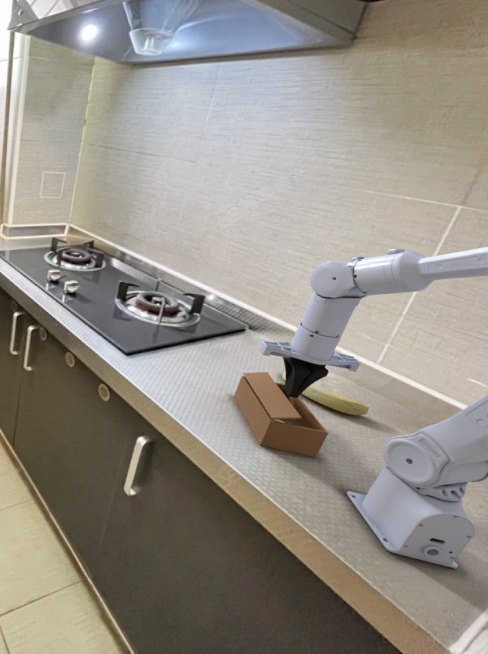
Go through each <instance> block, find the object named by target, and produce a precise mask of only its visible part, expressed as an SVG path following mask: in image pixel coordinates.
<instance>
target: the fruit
mask: <svg viewBox="0 0 488 654" xmlns="http://www.w3.org/2000/svg"><path fill="white" fill-rule="evenodd" d="M281 376H282V379H283V380H284V381H285V380H286V372H285V370H283V373H282V375H281ZM300 395H303V396H305V397H307V398H308V399H311V400H312V401H314V402H316V403H318V404H320V405H323V406H325V407H326V408H330V409H332V410H335V411H337V412H340V413H342V414H346V415H351V416H361V415H362V416H363V415H367V414H368V411H369V409H370V407H369V406H367V405H366V404H364V403H362V402H361V401H358V400H356V399H353V398H351V397H348V396H344V395H341V394H338V393H337V392H333V391H330V390H328V389H326V388H323V387H322V386H320V385H318V384H316V383H315V382H314V383H313V384H311V385H310V386H309V387H308V388H307V389H306V390H304V391H303V392H302V393H301V394H300Z"/></svg>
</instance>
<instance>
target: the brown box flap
mask: <svg viewBox="0 0 488 654" xmlns="http://www.w3.org/2000/svg"><path fill="white" fill-rule="evenodd" d="M242 376H245V378H246V379H247V381H248V382H249V384H250V385H251V387H252V388H253V390H254V392H255V393H256V395H257V396H258V398H259V399H260V401H261V402H262V404H263V406H264V407H265V409H266V410H267V412H268V413H269V415H270V416H271V418H272V419H301V416H300V415H299V414H298V412H297V411H296V410H295V408H294V407H293V406H292V404H291V403H290V402H289V400H288V399H287V398H286V396H285V395H284V394H283V392H282V391H281V390H280V388H279V387H278V386H277V384H276V383H277V382H276V383H275V380H274V378H272V376H271V375H270V374H269V372H268V371H261V372H260V371H259V372H257V371H255V372H243V374H242Z"/></svg>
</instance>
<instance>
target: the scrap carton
mask: <svg viewBox="0 0 488 654" xmlns="http://www.w3.org/2000/svg"><path fill="white" fill-rule="evenodd" d="M274 382H275V381H274ZM275 383H276V384H277V386H278V387H279V388H280V390H281V391H282V392H283V394H284V395H285V396H286V398H287V399H288V400H289V402H290V403H291V404H292V406H293V407H294V408H295V410H296V411H297V412H298V414H299V415H300V416H301V419H278V420H280V421H282V422H278V421H273V420H272V419H271V418H270V415H269V413H268V412H267V410H266V409H265V407H264V406H263V404H262V402H261V401H260V399H259V398H258V396H257V395H256V393H255V392H254V390H253V388H252V387H251V385H250V384H249V382H248V381H247V379H246V378H245V376H244V375H242V376H241V377H240V379H239V383H238V385H237V387H236V390H235V392H234V395H233V399H234V401H235V402H236V404H237V406H238V408H239V409H240V412H241V413H242V415H243V417H244V419H245V420H246V423H247V425H248V426H249V428H250V429H251V432H252V433H253V435H254V437H255V439H256V441H257V442H258V444H259V446H263V447H266V448H271V449H276V450H280V451H285V452H290V453H294V454H297V455H298V454H299V455H303V456H308V457H312V458H317V456H318V454H319V452H320V450H321V448H322V447H323V445H324V443H325V440H326V439H327V437H328V435H329V432H328V431H327V430H326V428H325V427H324V426H323V425H322V423H321V422H320V421H319V419H317V417H316V416H315V415H314V413H313V412H312V410H311V409H309V407H308V406H307V405H306V403H305V402H304V401H303V399H301V397H300V396H299V397H298V398H294V397H289V396H288V395H287V393H286V392H285V391H284V389H285V383H282V382H275ZM283 422H284V423H283Z"/></svg>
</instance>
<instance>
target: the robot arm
mask: <svg viewBox="0 0 488 654" xmlns="http://www.w3.org/2000/svg"><path fill="white" fill-rule="evenodd" d="M476 277H477V278H478V277H488V246H484V247H478V248H477V247H476V248H472V249H467V250H461V251H455V252H450V253H444V254H439V255H438V254H437V255H432V256H428V257H427V256H425V255H423V254H421V253H419V252H416V251H413V250H408V251H407V250H405V249H404V248H393V249H388V250H386V254H384V255H378V256H371V257H366V258H365V257H364V256H354V257H351V258H350V261H349V262H339V261H333V260H328V261H326V262H323V263H320V264H319V265H317V266H316V267H315V268H313V270H312V271H311V273H310V278H309V282H310V283H309V284H310V287H311V289H312V290H313V291H312V293H311V296H310V298H309V300H308V303H307V305H306V308H305V310H304V312H303V315H302V317H301V319H300V321H299V324H298V326H297V329H296V331H295V334H294V336H293V338H292V340H291V341H266V340H262V341H261V344H260V346H259V349H258V350H259V352H260V353H261V354H262V355H263V356H267V357H270V356H275V357H281V358H282V359H283V360H282V361H283V364H284V371H285V372H286V380H284V382H285V383H284V384H285V389H284V391H285V392H286V393H287V395H288V396H289V397H294V398H298V397H300V396H301V395H302V394H301V393H302V392H303V391H304V390H306V389H307V388H308V387H309V386H310V385H311V384H313V383H314V384H315V383H316V382H317V381H319V380H321V379H324V378H326V377H327V376H328V375H329V372H330V371H329V370H328V369H327V367H326V366H330V367H336V368H341V369H347V370H348V371H349V372H354V373H357V371H358V369H359V367H360V365H361V363H362V362H361V361H360V360H359V359H357V358H356V357H355V356H352V355H347V354H343V353H340V352H336V348H337V346H338V344H339V342H340V341H341V338H342V336H343V334H344V331H345V329H346V328H347V325H348V323H349V321H350V319H351V317H352V315H353V312H354V311H355V309H356V307H358V306H359V304H360V302H361V301H362V299H364V298H366V297H369V296H378V295H379V296H380V295H391V294H403V293H414V292H416V293H417V292H421V291H424V290H425V289H427V288H428V287H429V286H430V285H431V284H432V283H433V282H434V281H441V280H451V279H452V280H453V279H466V278H476ZM382 457H383V458H384V462H385V464H384V466H383V467H382V469H381V471H380V472H379V474H378V475H377V477H376V478H375V480H374V482H373V483H372V485H371V487H370V488H369V490H368V491H367V493H366V494H363V493H359V492H355V491H349V490H348V491H346V495H347V497H348V498H349V500H350V501H351V502H352V503H353V505H354V506H355V508H356V510H358V512H359V514H361V516H362V517H363V519H364V520H365V522H366V523H367V525H368V526H369V527H370V529H371V530H372V532H373V533H374V535H375V536H376V537H377V538H378V540H379V542H380V543H381V544H382V545H383V547H384V548H385V549H386V550H387V551H388V552H390V553H392V554H396V555H400V556H404V557H407V558H412V559H417V560H420V561H424V562H427V563H431V564H436V565H440V566H444V567H447V568H451V569H458V568H459V564H458V563H457V562H456V561H455V560H456V559H457V558H458V557H459V555H460V554H461V553H462V552H463V550H464V549H465V548H466V547H467V545H468V544H469V543H470V541H472V539H473V538H474V536H475V534H476V528H475V526H474V523H473V522H472V521H471V519H470V518H469V517H468V514H467V513H466V511H465V509H464V507H463V501H462V499H463V498H464V497H465V494H466V490H467V486H468V484H469V483H479V482H484V481H486V480H488V393H487V394H485V395H484V396H482V397H480V398H479V399H477V400H476V401H474V402H472V403H471V404H470V405H468V406H467V407H464V408H463V409H461V410H460V411H458V412H457V413H456V414H454V415H452V416H451V417H449V418H447V419H445V420H442V421H439V422H436V423H434V424H430V425H428V426H425V427H422V428H420V429H419V430H417V431H416V432H414V433H411V434H401V435H400V434H399V435H394V436H392V437H390V438H388V439H387V440H386V441H385V442H384V444H383V447H382Z"/></svg>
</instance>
